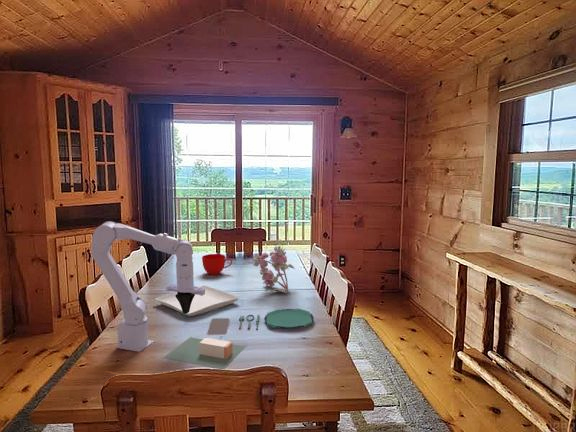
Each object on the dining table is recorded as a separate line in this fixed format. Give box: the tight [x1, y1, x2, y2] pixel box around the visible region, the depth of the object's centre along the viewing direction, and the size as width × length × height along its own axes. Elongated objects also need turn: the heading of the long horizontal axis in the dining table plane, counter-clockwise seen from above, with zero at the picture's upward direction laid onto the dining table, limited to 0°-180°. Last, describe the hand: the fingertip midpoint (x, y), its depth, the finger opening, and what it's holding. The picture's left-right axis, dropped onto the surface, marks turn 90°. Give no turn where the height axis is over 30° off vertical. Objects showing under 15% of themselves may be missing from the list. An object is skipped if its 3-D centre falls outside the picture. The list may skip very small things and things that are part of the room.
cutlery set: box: [238, 308, 315, 331], centre depth 158 cm, size 20×30×2 cm, turn 93°
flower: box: [249, 245, 296, 295], centre depth 196 cm, size 20×22×25 cm
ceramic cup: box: [201, 253, 233, 276], centre depth 225 cm, size 13×17×10 cm
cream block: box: [199, 337, 233, 359], centre depth 130 cm, size 4×4×10 cm
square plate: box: [154, 285, 240, 317], centre depth 176 cm, size 27×27×4 cm
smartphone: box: [206, 317, 231, 336], centre depth 152 cm, size 7×1×15 cm
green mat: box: [162, 337, 246, 370], centre depth 131 cm, size 22×16×1 cm
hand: (186, 312), depth 139 cm, fingers closed
